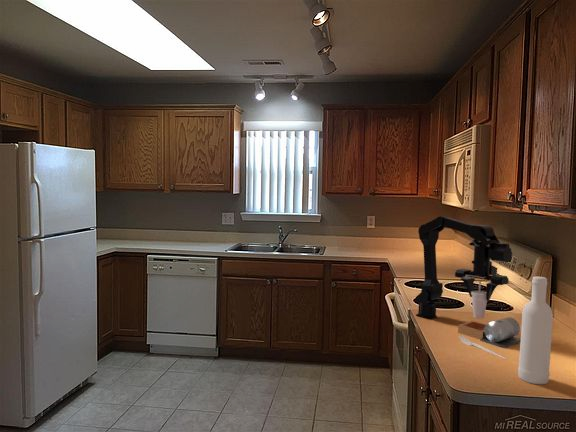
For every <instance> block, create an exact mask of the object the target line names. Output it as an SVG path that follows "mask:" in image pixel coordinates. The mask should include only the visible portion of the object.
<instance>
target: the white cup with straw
mask: <svg viewBox="0 0 576 432" xmlns="http://www.w3.org/2000/svg"><path fill="white" fill-rule="evenodd" d="M481 282H482V281H481V280H479V281H478V290H473V291H471V295H472V297H471V300H472V301H471V303H472V316H473V318H474V319H481V320H482V319H485V313H486V308H487V303H488V301H487V298H486V291H483V290H481V285H482V283H481Z"/></svg>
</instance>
